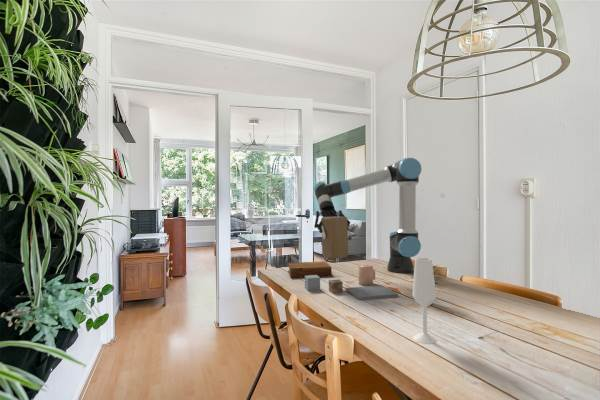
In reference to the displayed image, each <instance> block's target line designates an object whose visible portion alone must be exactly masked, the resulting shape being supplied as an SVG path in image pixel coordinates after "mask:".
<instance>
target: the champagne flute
mask: <svg viewBox="0 0 600 400" xmlns="http://www.w3.org/2000/svg"><path fill="white" fill-rule="evenodd" d="M414 267H415V268H414V271H413V278H414V279H413V280H412V297H413V299H414V300H415V302H416V303H417V304H418V305H420V307H422V332H421V333H418V334H416V335H414V336H413V340H415V341H416V342H418V343H420V344H426V345H427V344H435V343H437V342H438V339H437V338H436V337H434V336H433V335H431V334H430V333H429V332H428V318H427V317H428V316H427V315H428V312H427V310H428V309H427V307H429V306H431V305H430V304H432V303H434V302H435V301H436V300H437V299H436V298H437V292H436V284H435V283H436V281H435V278H434V276H435V275H434V272H433V271H434V270H433V267H434V266H433V259H432V258H429V257H416V258H414ZM432 305H433V304H432Z"/></svg>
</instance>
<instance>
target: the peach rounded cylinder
mask: <svg viewBox="0 0 600 400" xmlns="http://www.w3.org/2000/svg"><path fill="white" fill-rule="evenodd" d="M375 280H376V269H374V266H373V265H369V264H361V265H358V285H359V286H361V287H367V286H374V281H375Z"/></svg>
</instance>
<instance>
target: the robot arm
mask: <svg viewBox="0 0 600 400" xmlns="http://www.w3.org/2000/svg"><path fill="white" fill-rule="evenodd" d="M421 173H422V164H421V163H420V161H419V160H417V158H414V157H405V158H403V159H401V160H398V161H397V162H394V163H393V164H390V165H388V166H385V167H384V169H380V170H376V171H372V172H369V173H365V174H362V175H359V176H355V177H351V178H348V179H345V180H340V181H335V182H332V183H326V182H325V181H319V182H316V183H315V185H314V187H313V191H314V194H315V197H316V201H317V203H318V206H319V210H320V211H319V210H316V212H315V221H314V229H316V228H317V230H318V232H319V233H320V234H321V238H322V237H323V239H325V236H326V235H325V231H324V228H323V225H322V222H321V220H320V222H319V218H320V216H322V217H333V216H340V217H346V216H345V214H344V213H343V211H342V210H338V211H337V210H336V209H335V205H334V203H333V199H332V198H333V197H338V196H342V195H346V194H349V193H352V192H354V191H358V190H362V189H366V188H369V187H373V186H376V185H379V184H382V183H386V182H388V183H393V182H396V185H397V184H398V187H399V190H398V191H399V192H398V193H399V194H398V195H399V203H398V205H399V210H398V213H399V215H398V217H399V218H398V219H399V220H398V224H399V225H398V227H399V228H398V229H397V230H396V231H391V232H390V233H389V260H388V263H387V266H386V268H387V269H386V270H387V271H389V272H390V273H391V272H392V273H397V274H398V273H401V274H402V273H403V274H405V273H406V274H407V273H412V272H413V273H414V271H413V270H414V267H415V266H414V264H413V261H412V258H413V257H416V256H417V255H418V254H419V253H420V251H421V248H422V245H421V244H422V243H421V241H420V239H419V231H418V230H417V229H416V206H417V205H416V203H417V202H416V197H417V195H416V194H417V191H416V189H417V187H416V186H417V185H418V184H419V180H420V179H419V178H420V175H421ZM350 225H351V221H350V220H349V218H347V230H348V237H349V236H350V233H349V232H350V229H349V227H350ZM413 266H414V267H413Z"/></svg>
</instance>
